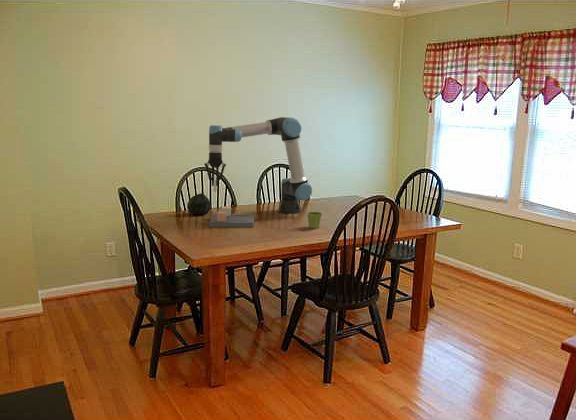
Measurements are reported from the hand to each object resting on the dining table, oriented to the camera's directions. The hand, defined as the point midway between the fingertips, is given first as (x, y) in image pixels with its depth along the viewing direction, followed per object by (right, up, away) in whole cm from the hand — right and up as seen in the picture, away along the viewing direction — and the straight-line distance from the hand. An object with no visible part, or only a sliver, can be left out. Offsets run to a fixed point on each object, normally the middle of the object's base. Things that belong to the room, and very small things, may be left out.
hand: (215, 191), depth 301 cm
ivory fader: (+5, -14, +13) cm, 20 cm away
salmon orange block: (+4, -17, -1) cm, 18 cm away
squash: (-15, -14, +31) cm, 37 cm away
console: (+10, -19, +7) cm, 23 cm away
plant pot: (+59, -22, 0) cm, 63 cm away
